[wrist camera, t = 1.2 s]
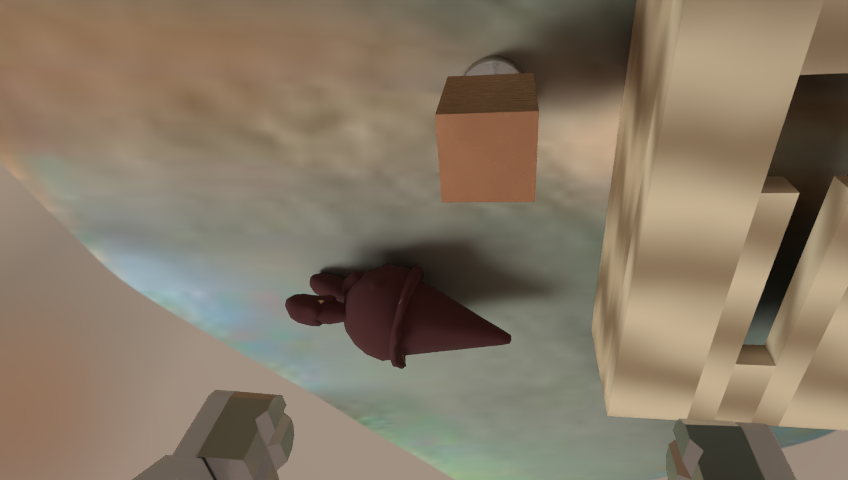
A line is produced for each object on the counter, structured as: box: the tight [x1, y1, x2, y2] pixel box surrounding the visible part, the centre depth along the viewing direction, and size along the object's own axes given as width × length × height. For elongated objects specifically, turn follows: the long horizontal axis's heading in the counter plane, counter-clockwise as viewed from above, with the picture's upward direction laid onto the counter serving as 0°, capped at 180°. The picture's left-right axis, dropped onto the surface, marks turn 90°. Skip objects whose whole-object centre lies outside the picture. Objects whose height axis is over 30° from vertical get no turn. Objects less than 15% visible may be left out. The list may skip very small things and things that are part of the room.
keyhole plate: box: [591, 0, 848, 430], centre depth 26 cm, size 24×14×8 cm, turn 5°
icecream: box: [285, 264, 511, 369], centre depth 34 cm, size 7×7×15 cm
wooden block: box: [435, 56, 539, 202], centre depth 24 cm, size 4×4×9 cm
